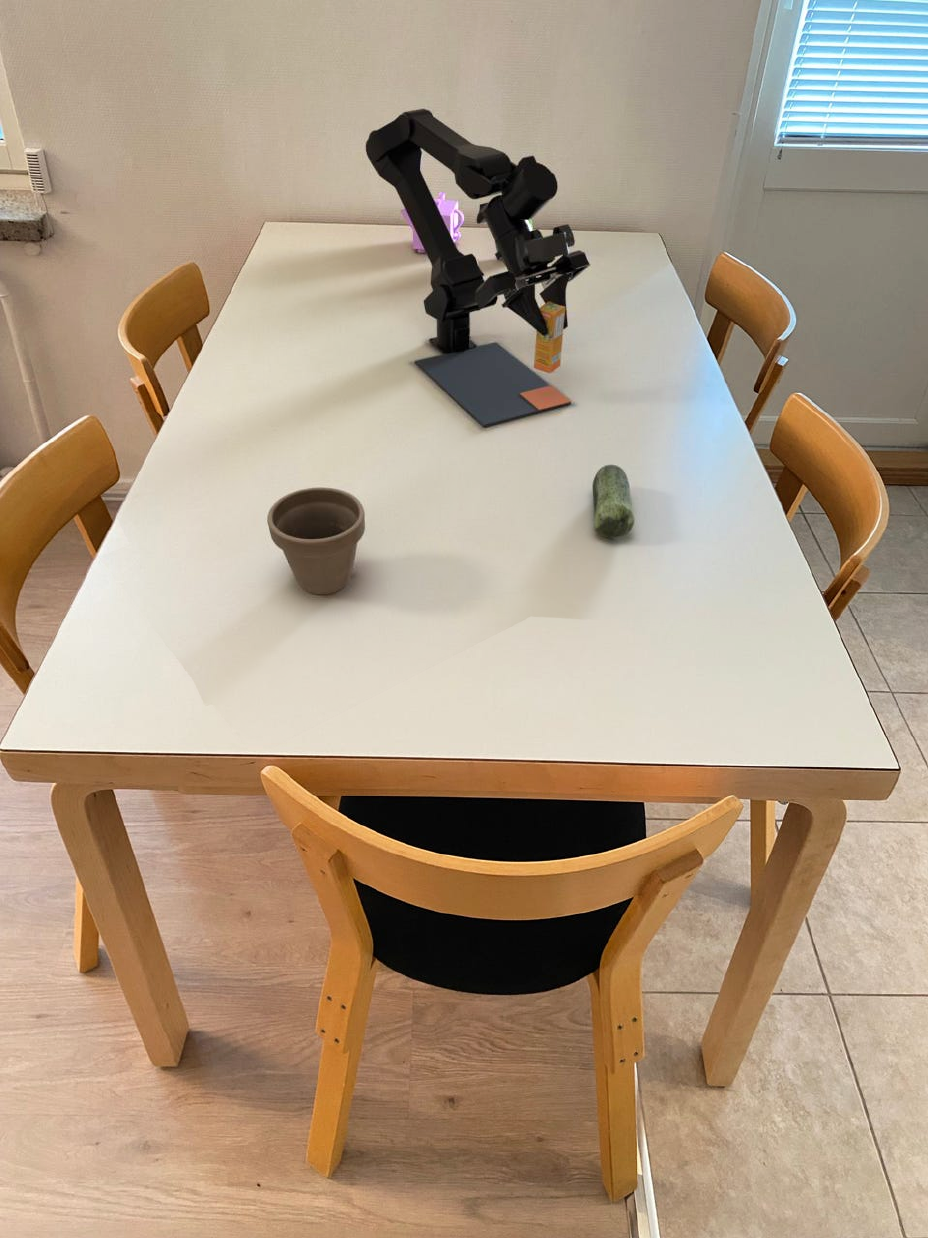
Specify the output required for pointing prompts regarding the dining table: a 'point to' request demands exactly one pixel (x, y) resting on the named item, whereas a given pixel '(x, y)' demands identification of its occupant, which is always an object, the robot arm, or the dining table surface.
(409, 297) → the dining table surface
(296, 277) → the dining table surface
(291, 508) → the flower pot
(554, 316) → the supplement box
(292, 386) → the dining table surface
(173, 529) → the dining table surface
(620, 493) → the vegetable
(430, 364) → the mat
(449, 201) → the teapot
